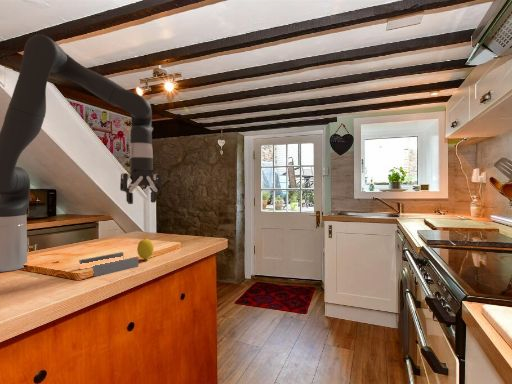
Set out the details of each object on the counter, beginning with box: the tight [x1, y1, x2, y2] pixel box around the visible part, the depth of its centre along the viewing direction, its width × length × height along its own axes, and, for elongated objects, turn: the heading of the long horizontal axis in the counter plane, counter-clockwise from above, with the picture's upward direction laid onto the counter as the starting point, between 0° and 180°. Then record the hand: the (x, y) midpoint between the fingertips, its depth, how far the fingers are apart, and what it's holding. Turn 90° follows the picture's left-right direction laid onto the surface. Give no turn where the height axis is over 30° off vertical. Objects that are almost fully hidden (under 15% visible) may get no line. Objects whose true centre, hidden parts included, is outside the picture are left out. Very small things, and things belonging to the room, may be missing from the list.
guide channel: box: [78, 251, 139, 277], centre depth 96 cm, size 11×14×3 cm
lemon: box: [136, 237, 154, 261], centre depth 106 cm, size 6×6×8 cm
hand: (142, 203), depth 103 cm, fingers open, 8 cm apart
